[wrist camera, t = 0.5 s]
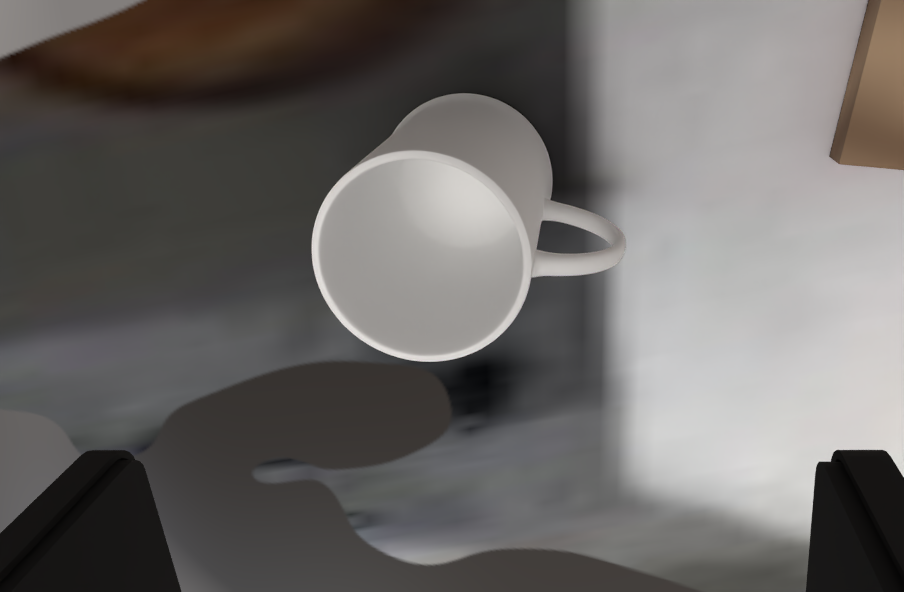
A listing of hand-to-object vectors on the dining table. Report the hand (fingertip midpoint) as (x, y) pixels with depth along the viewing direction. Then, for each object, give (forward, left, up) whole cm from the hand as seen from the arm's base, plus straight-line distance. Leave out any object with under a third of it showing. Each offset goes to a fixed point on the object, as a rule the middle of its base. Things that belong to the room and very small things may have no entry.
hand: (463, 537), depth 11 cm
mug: (+3, -2, -29) cm, 30 cm away
